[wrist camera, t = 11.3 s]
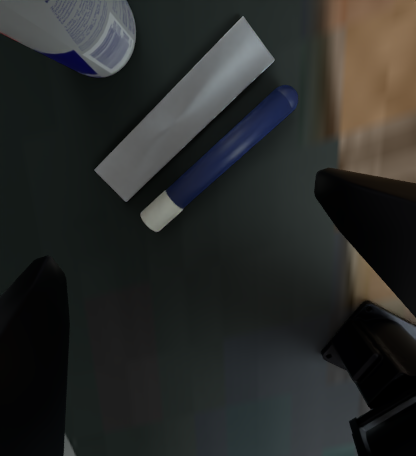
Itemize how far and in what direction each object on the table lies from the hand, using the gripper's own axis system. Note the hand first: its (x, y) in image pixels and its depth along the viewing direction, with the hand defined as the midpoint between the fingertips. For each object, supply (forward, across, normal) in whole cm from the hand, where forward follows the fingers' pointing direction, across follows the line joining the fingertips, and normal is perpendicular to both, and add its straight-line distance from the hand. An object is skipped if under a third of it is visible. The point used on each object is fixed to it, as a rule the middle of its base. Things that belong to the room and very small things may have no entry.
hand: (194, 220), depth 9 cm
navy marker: (+11, -4, +3) cm, 12 cm away
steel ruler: (+12, -2, +1) cm, 12 cm away
